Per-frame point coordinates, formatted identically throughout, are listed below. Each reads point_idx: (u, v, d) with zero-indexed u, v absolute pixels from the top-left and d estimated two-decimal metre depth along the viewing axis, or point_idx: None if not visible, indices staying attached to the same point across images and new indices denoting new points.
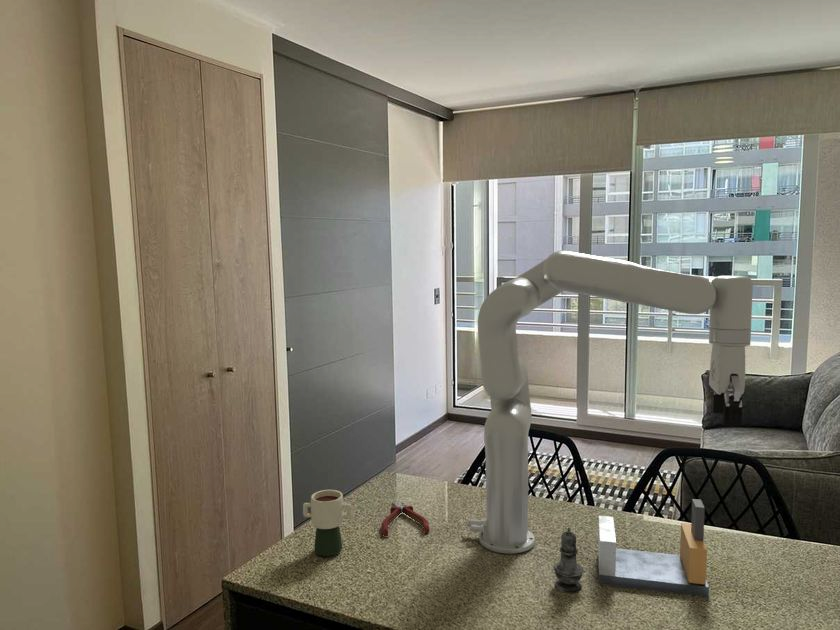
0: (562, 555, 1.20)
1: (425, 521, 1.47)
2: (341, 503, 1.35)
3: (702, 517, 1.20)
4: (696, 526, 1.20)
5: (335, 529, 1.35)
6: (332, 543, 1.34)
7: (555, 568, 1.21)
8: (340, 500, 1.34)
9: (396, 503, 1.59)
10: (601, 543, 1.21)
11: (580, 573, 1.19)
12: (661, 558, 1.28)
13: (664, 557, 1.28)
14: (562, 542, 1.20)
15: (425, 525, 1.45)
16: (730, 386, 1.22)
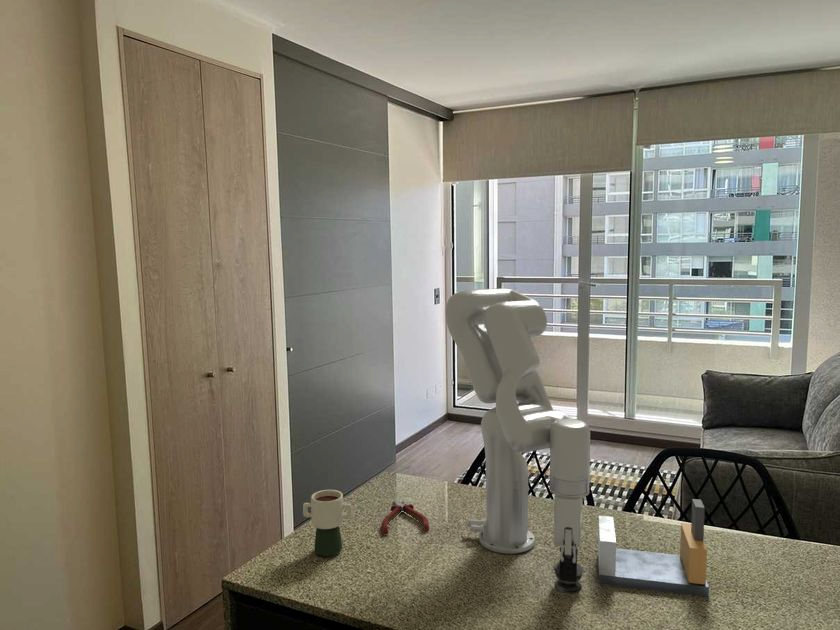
0: None
1: (425, 519, 1.48)
2: (341, 503, 1.35)
3: (702, 517, 1.20)
4: (696, 526, 1.20)
5: (335, 529, 1.35)
6: (332, 543, 1.34)
7: (555, 568, 1.21)
8: (340, 500, 1.34)
9: (397, 502, 1.60)
10: (601, 543, 1.21)
11: (580, 573, 1.19)
12: (661, 558, 1.28)
13: (664, 557, 1.28)
14: None
15: (425, 523, 1.46)
16: None
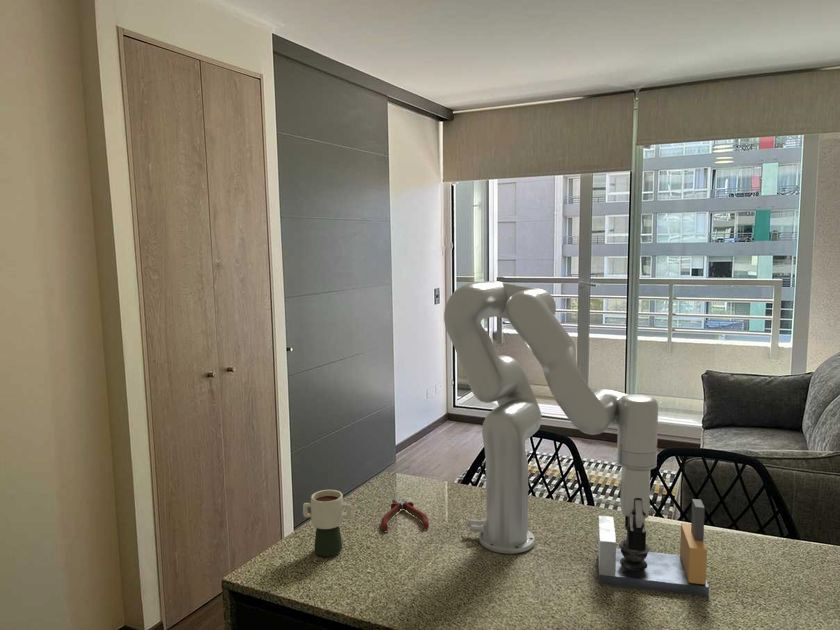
0: None
1: (424, 517, 1.49)
2: (341, 503, 1.35)
3: (702, 517, 1.20)
4: (696, 526, 1.20)
5: (335, 529, 1.35)
6: (332, 543, 1.34)
7: (621, 546, 1.25)
8: (340, 500, 1.34)
9: (397, 499, 1.61)
10: (601, 543, 1.21)
11: (646, 551, 1.24)
12: (661, 558, 1.28)
13: (664, 557, 1.28)
14: (629, 521, 1.25)
15: (424, 521, 1.47)
16: None
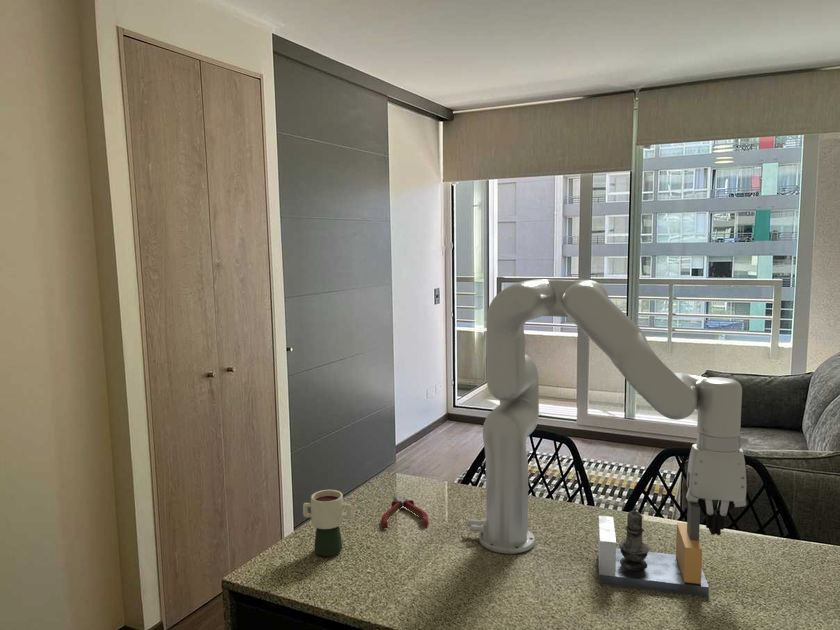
0: (628, 534, 1.25)
1: (424, 515, 1.51)
2: (341, 503, 1.35)
3: (698, 517, 1.20)
4: (692, 526, 1.20)
5: (335, 529, 1.35)
6: (332, 543, 1.34)
7: (621, 546, 1.25)
8: (340, 500, 1.34)
9: (397, 497, 1.63)
10: (601, 543, 1.21)
11: (646, 551, 1.24)
12: (661, 558, 1.28)
13: (664, 557, 1.28)
14: (628, 521, 1.25)
15: (424, 518, 1.49)
16: None
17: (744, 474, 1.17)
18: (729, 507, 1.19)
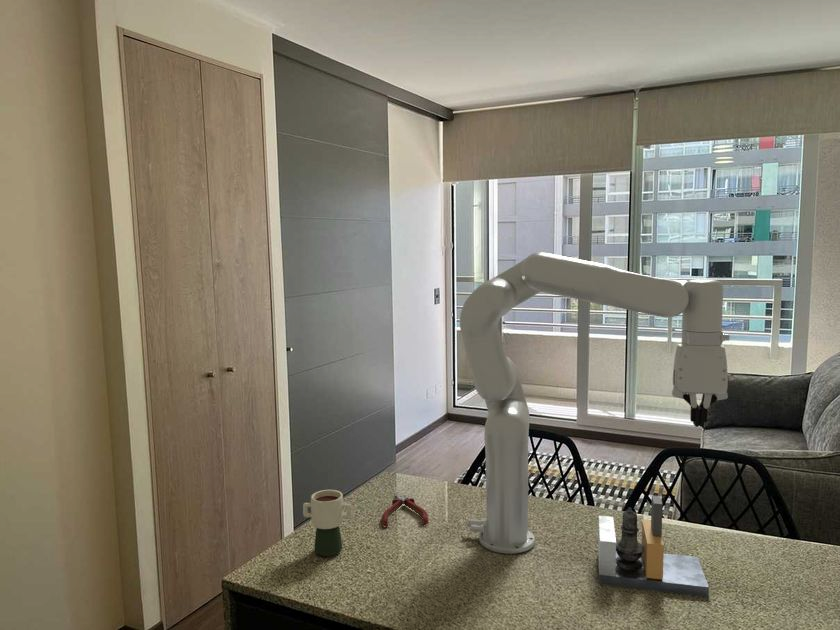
0: (624, 533, 1.25)
1: (424, 513, 1.52)
2: (341, 503, 1.35)
3: (660, 513, 1.22)
4: (654, 522, 1.22)
5: (335, 529, 1.35)
6: (332, 543, 1.34)
7: (616, 546, 1.26)
8: (340, 500, 1.34)
9: (398, 495, 1.64)
10: (601, 543, 1.21)
11: (641, 550, 1.24)
12: None
13: (664, 557, 1.28)
14: (624, 521, 1.25)
15: (424, 517, 1.50)
16: None
17: (725, 367, 1.25)
18: (712, 400, 1.27)
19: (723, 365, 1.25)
